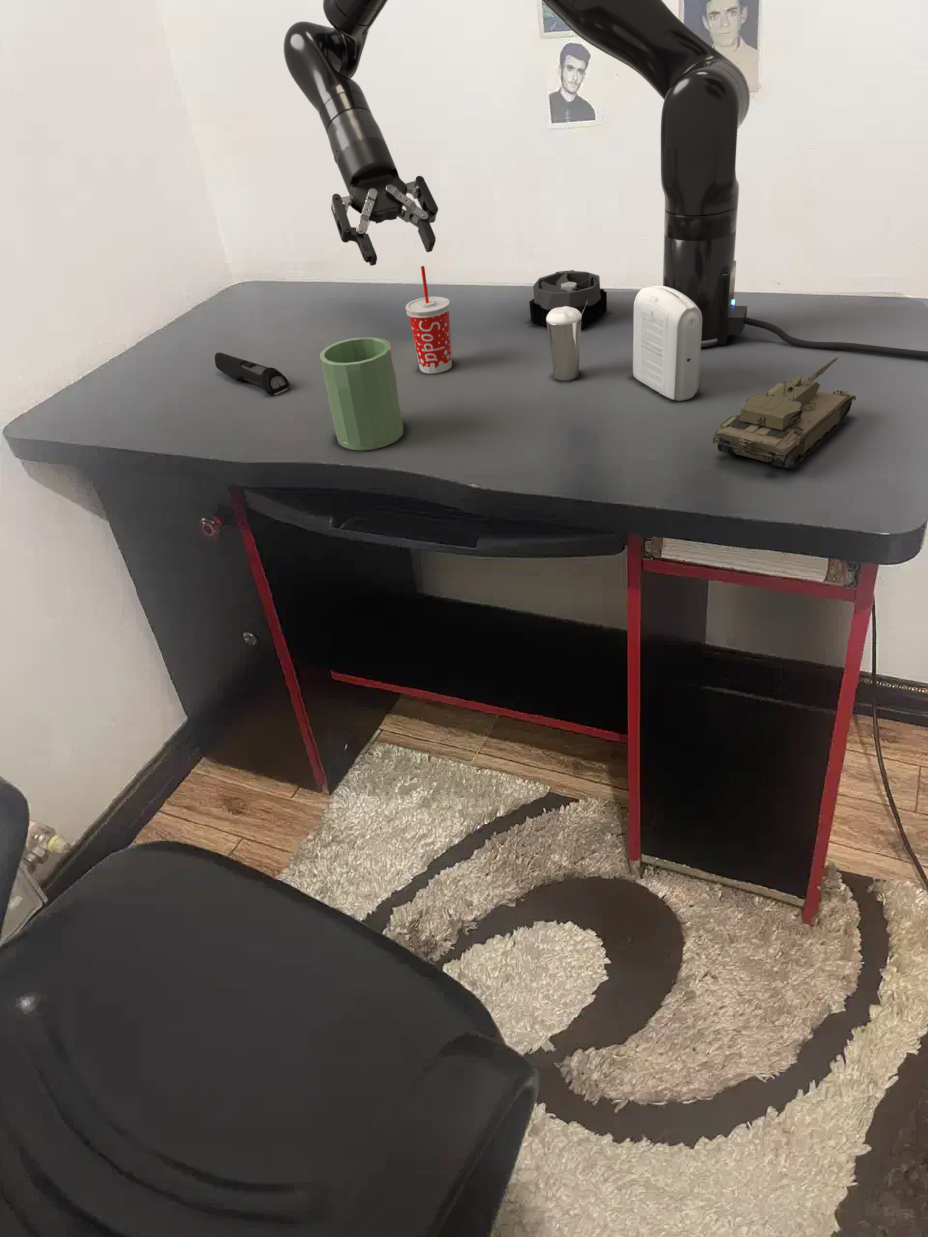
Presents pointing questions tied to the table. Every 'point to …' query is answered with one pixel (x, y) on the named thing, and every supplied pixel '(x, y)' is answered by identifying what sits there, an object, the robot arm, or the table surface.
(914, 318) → the table surface
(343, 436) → the pen pot
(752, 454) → the tank
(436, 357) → the beverage cup
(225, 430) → the table surface
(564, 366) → the milkshake
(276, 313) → the table surface
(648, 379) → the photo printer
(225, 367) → the electric trimmer
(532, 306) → the cpu cooler
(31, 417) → the table surface
